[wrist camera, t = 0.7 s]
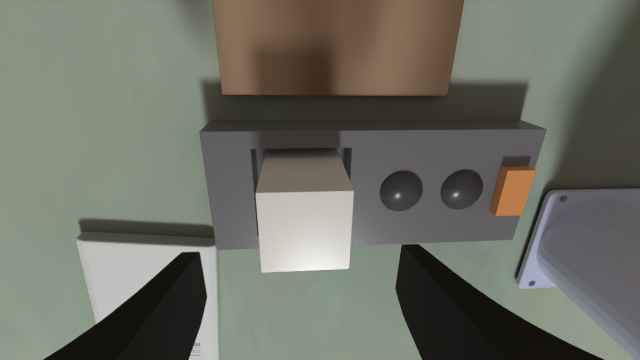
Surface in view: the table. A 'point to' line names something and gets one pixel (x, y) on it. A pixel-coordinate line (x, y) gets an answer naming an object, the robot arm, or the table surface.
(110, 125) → the table surface
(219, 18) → the walnut pad
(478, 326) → the robot arm
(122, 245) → the external hard drive
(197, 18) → the table surface
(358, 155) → the power strip
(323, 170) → the plug
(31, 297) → the table surface
